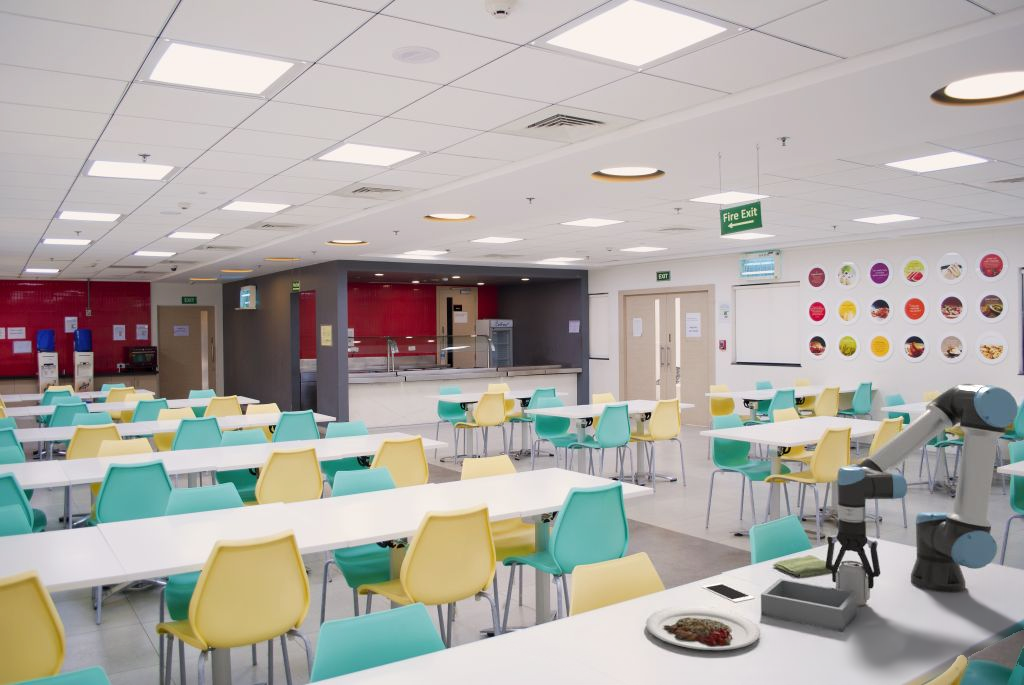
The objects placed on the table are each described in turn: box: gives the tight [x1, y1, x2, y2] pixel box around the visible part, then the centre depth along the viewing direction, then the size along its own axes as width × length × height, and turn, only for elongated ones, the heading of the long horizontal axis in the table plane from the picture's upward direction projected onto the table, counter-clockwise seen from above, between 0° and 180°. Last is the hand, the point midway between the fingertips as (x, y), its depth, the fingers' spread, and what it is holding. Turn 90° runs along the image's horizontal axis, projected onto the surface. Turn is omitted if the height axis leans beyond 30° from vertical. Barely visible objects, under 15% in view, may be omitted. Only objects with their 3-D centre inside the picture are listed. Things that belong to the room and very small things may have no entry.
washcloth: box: [773, 554, 834, 578], centre depth 256 cm, size 13×18×3 cm
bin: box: [760, 578, 858, 633], centre depth 215 cm, size 22×17×6 cm
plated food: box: [645, 605, 761, 651], centre depth 203 cm, size 30×30×3 cm
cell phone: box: [701, 582, 755, 603], centre depth 234 cm, size 8×16×1 cm, turn 25°
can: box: [838, 560, 868, 607], centre depth 223 cm, size 8×8×12 cm
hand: (852, 595), depth 223 cm, fingers closed on can, 7 cm apart
